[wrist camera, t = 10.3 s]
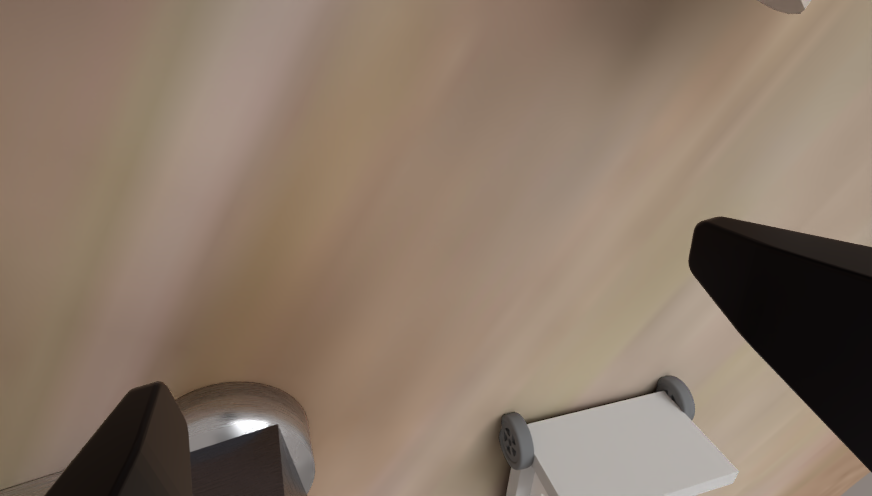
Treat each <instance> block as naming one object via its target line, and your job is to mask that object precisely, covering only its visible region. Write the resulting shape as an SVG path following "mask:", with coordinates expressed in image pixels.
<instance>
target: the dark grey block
mask: <svg viewBox="0 0 872 496" xmlns="http://www.w3.org/2000/svg"><path fill="white" fill-rule="evenodd" d="M190 462H191V478H192V494H193V496H307V494H306V492H305V489H304V487H303V484H302V482H301V479H300V477H299V475H298V472H297V470H296V467H295V465H294V462H293V460H292V457H291V455H290V453H289V450H288V448H287V445H286V443H285V440H284V438H283V435H282V433H281V430H280V428H279V426H278V424H276V425H273V426H269V427H266V428H263V429H260V430H257V431H254V432H251V433H248V434H245V435H242V436H238V437H235V438H232V439H229V440H226V441H223V442H220V443H217V444H214V445H210V446H207V447H204V448H201V449H198V450H195V451H192V452H190Z"/></svg>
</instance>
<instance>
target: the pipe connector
mask: <svg viewBox="0 0 872 496" xmlns="http://www.w3.org/2000/svg"><path fill="white" fill-rule="evenodd" d="M758 1H759V2H761V3H762V4H764V5H766V6H768V7H770V8H772V9H774V10H777V11H780V12H784V13H787V14H800V13H801V12H802V11H803V10H804V9H805V8H806V7H807V5H808V4H809V3H810V2H811V0H758Z"/></svg>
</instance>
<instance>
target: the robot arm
mask: <svg viewBox="0 0 872 496" xmlns="http://www.w3.org/2000/svg"><path fill="white" fill-rule="evenodd" d="M688 262H689V267H690V270H691V272H692V274H693V275H694V276H695V278H696V279H697V280H698V281H699V283H700V284H701V285H702V287H703V288H704V289H705V290H706V292H707V293H708V294H709V295H710V297H711V298H712V299H713V301H714V302H715V303H716V304H717V306H718V307H719V308H720V309H721V311H722V312H723V313H724V314H725V316H726V317H727V318H728V320H729V321H730V322H731V323H732V325H733V326H734V327H735V328H736V330H737V331H738V332H739V333H740V334H741V336H742V337H743V338H744V339H745V340H746V341H747V342H748V343H749V345H750V346H751V347H752V348H753V349H754V350H755V351H756V352H757V353H758V354H759V355H760V356H761V357H762V358H763V359H764V360H765V361H766V363H767V364H768V365H769V366H770V367H771V368H772V369H773V370H774V371H775V372H776V373H777V374H778V375H779V376H780V377H781V378H782V379H783V380H784V381H785V382H786V383H787V384H788V386H789V387H790V388H791V389H792V390H793V391H794V392H795V393H796V394H797V395H798V396H799V397H800V398H801V399H802V400H803V401H804V402H805V403H806V404H807V405H808V406H809V407H810V409H811V410H812V411H813V412H814V413H815V414H816V415H817V416H818V417H819V418H820V419H821V420H822V421H823V422H824V423H825V424H826V425H827V426H828V427H829V428H830V429H831V430H832V432H833V433H834V434H835V435H836V436H837V437H838V438H839V439H840V440H841V441H842V442H843V443H844V444H845V445H846V446H847V447H848V448H849V449H850V450H851V451H852V452H853V453H854V455H855V456H856V457H857V458H858V459H859V460H860V461H861V462H862V463H863V464H864V465H865V466H866V467H867V468H868V469H869V470H870V471H871V472H872V247H868V246H863V245H858V244H854V243H849V242H844V241H839V240H834V239H829V238H824V237H819V236H815V235H810V234H805V233H800V232H795V231H790V230H785V229H780V228H776V227H771V226H766V225H761V224H756V223H751V222H746V221H741V220H736V219H732V218H727V217H714V218H711V219H707V220H704V221H701V222H699V223H698V224H697V225H696V227H695V229H694V233H693V238H692V243H691V249H690V254H689V260H688ZM44 496H193V494H192V478H191V462H190V447H189V432H188V427H187V423H186V420H185V418H184V416H183V414H182V412H181V410H180V408H179V407H178V405H177V403H176V401H175V399H174V398H173V396H172V394H171V392H170V390H169V389H168V387H167V386H166V385H165V384H164V383H163V382H159V381H157V382H153V383H150V384H146V385H143V386H140V387H136V388H134V389H132V390H130V391H129V392H128V393H127V394H126V395H125V397H124V398H123V399H122V400H121V402H120V403H119V404H118V405H117V406H116V408H115V409H114V410H113V411H112V413H111V414H110V415H109V416H108V418H107V419H106V420H105V421H104V422H103V424H102V425H101V426H100V427H99V429H98V430H97V431H96V432H95V434H94V435H93V436H92V437H91V438H90V440H89V441H88V442H87V443H86V445H85V446H84V447H83V448H82V450H81V451H80V452H79V453H78V454H77V456H76V457H75V458H74V459H73V461H72V462H71V463H70V464H69V466H68V467H67V468H66V469H65V470H64V472H63V473H62V474H61V475H60V477H59V478H58V479H57V480H56V482H55V483H54V484H53V485H52V486H51V488H50V489H49V490H48V491H47V493H46V494H45V495H44Z"/></svg>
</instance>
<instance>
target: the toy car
mask: <svg viewBox="0 0 872 496" xmlns="http://www.w3.org/2000/svg"><path fill="white" fill-rule="evenodd" d="M694 414H695V404H694V400H693V397H692V394H691V392H690V390H689V389H688V387H687V386H686V385H685V384H684V382H682V381H681V380H680V379H679V378H677V377H674V376H665V377H661V378H660V379H659V381H658V384H657V389H656V392H655V393H652V394H648V395H644V396H640V397H636V398H632V399H627V400H623V401H619V402H615V403H611V404H607V405H603V406H599V407H595V408H591V409H587V410H583V411H579V412H575V413H570V414H566V415H562V416H558V417H554V418H550V419H546V420H542V421H538V422H534V423H530V424H526V422H525V420H524V419H523V417H522V416H521V415H520V414H518V413H516V412H513V413H508V414H504V415H503V416H502V421H501V424H502V428H501V431H500V434H499V441H500V445H501V448H502V451H503V454H504V456H505V458H506V460H507V462H508V464H509V465H510V466H511V471H510V476H509V482H508V487H507V493H506V496H695V495H698V494H701V493H704V492H708V491H711V490H714V489H717V488H720V487H723V486H726V485H729V484H732V483H733V482H734V480H735V478H736V476H737V474H738V472H739V471H738V470H737V468H736V467H735V466H734V465H733V464H732V463H731V462H730V461H729V460H728V459H727V458H726V457H725V456H724V455H723V453H722V452H721V451H720V450H719V449H718V448H717V447H716V446H715V445H714V444H713V443H712V442H711V441H710V440H709V439H708V437H707V436H706V435H705V434H704V433H703V432H702V431H701V430H700V429H699V428H698V427H697V426H696V425H695V424H694V422H693V421H692V419H693V417H694Z"/></svg>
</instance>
